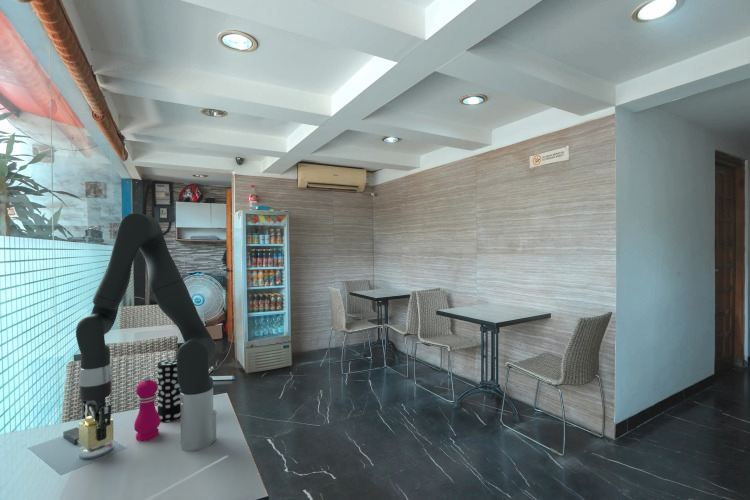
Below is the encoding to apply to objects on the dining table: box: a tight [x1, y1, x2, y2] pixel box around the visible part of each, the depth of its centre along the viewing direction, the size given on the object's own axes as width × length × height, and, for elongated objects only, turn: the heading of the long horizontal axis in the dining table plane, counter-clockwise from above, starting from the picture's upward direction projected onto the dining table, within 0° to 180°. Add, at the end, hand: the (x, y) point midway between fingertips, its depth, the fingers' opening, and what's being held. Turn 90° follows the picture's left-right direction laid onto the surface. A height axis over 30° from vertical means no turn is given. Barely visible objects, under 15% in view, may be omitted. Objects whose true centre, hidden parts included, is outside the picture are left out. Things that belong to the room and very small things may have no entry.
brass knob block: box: [78, 414, 114, 449], centre depth 110 cm, size 6×6×8 cm
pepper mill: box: [133, 375, 161, 442], centre depth 119 cm, size 7×7×20 cm
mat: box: [28, 435, 127, 476], centre depth 113 cm, size 16×26×1 cm, turn 58°
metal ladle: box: [62, 427, 113, 460], centre depth 114 cm, size 8×24×6 cm, turn 58°
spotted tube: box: [156, 358, 181, 423], centre depth 134 cm, size 8×8×20 cm
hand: (96, 436), depth 110 cm, fingers closed on brass knob block, 6 cm apart
